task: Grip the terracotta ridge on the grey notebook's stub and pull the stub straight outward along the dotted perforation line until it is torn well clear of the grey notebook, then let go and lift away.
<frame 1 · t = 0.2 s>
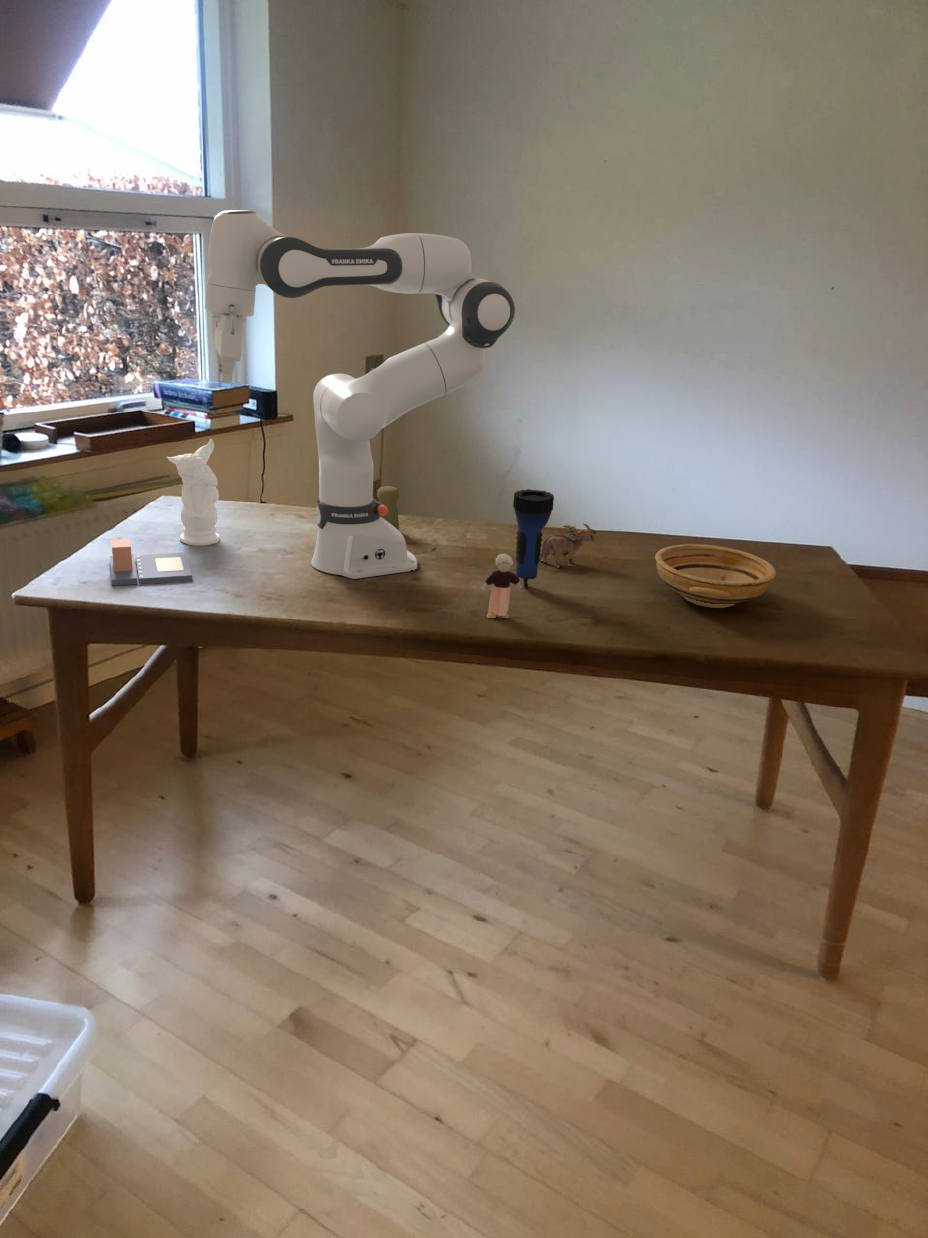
hand: (224, 378, 181), 39 cm above the table, tool pointing down, fingers open, 8 cm apart
grandmother figurine: (499, 617, 182), on the table
stub: (123, 572, 191), on the table, slide at 0.0 cm
cherub figurine: (194, 539, 214), on the table
cork: (386, 533, 226), on the table
grey notebook: (163, 570, 194), on the table
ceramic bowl: (708, 599, 198), on the table
flashlight: (525, 589, 197), on the table
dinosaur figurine: (559, 564, 213), on the table
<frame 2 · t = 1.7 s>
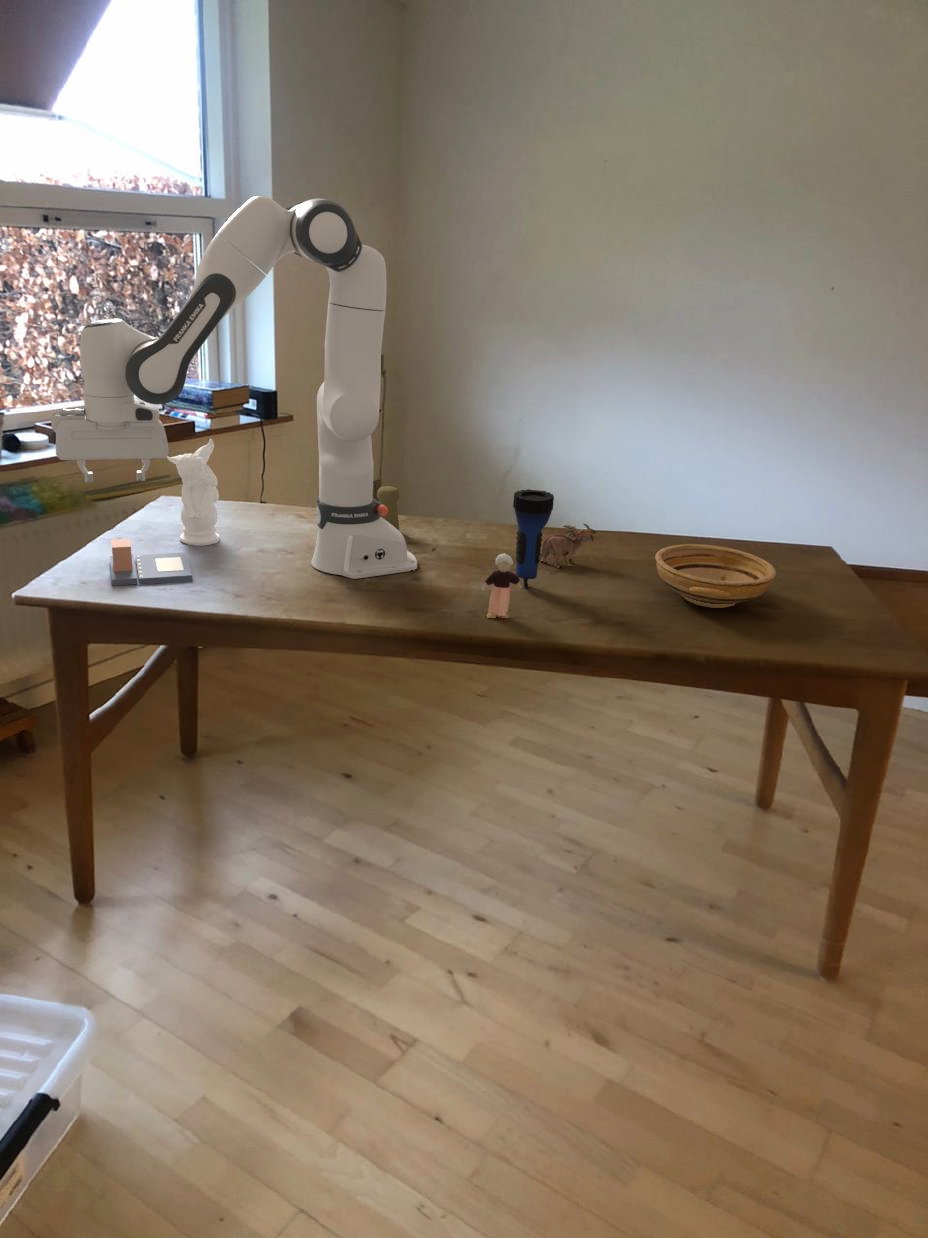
hand: (115, 481, 184), 19 cm above the table, tool pointing down, fingers open, 8 cm apart
nothing on the table moved.
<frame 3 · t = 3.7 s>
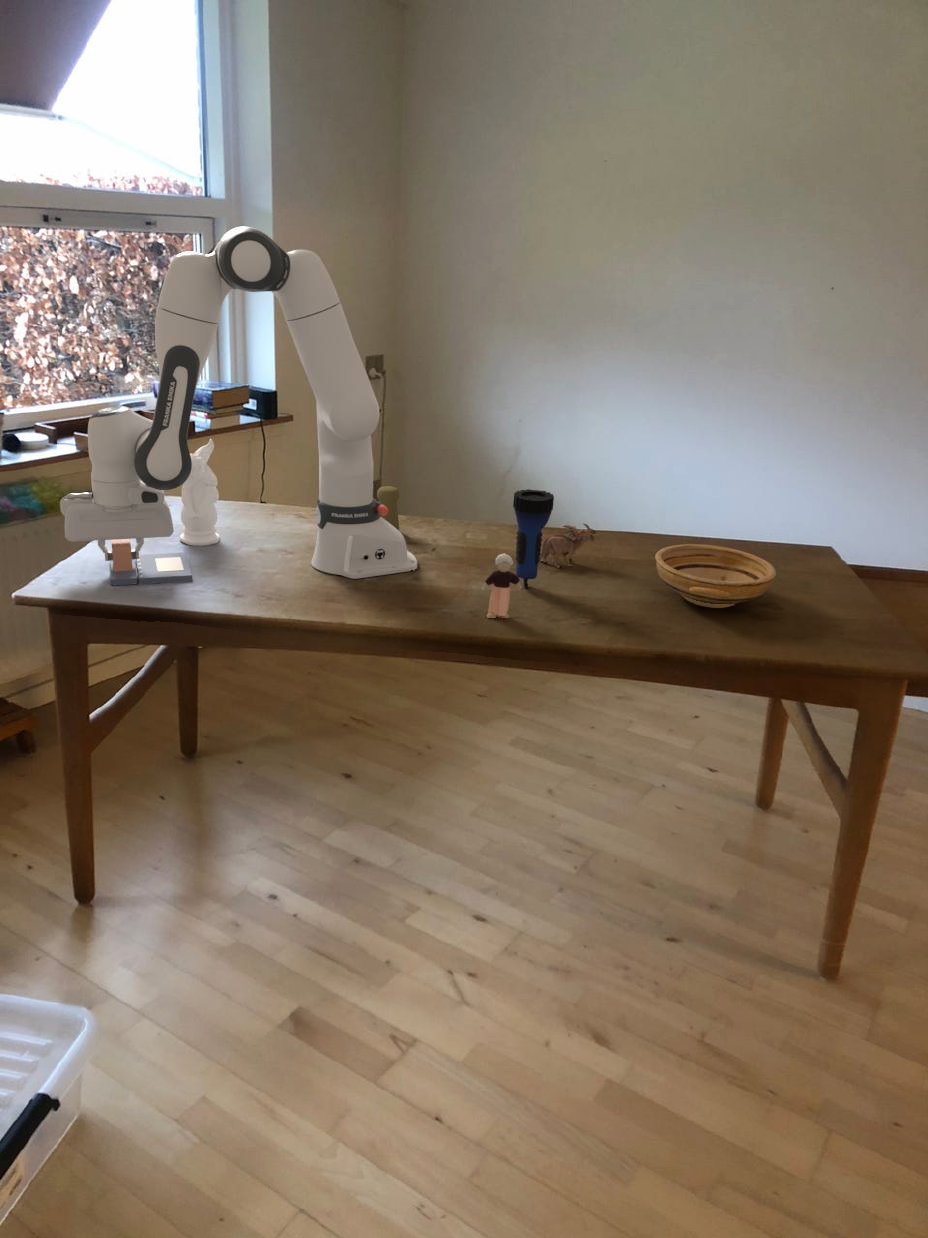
hand: (122, 559, 190), 3 cm above the table, tool pointing down, fingers closed on stub, 3 cm apart
stub: (123, 572, 191), on the table, slide at 0.0 cm, touching gripper
everything else where it was.
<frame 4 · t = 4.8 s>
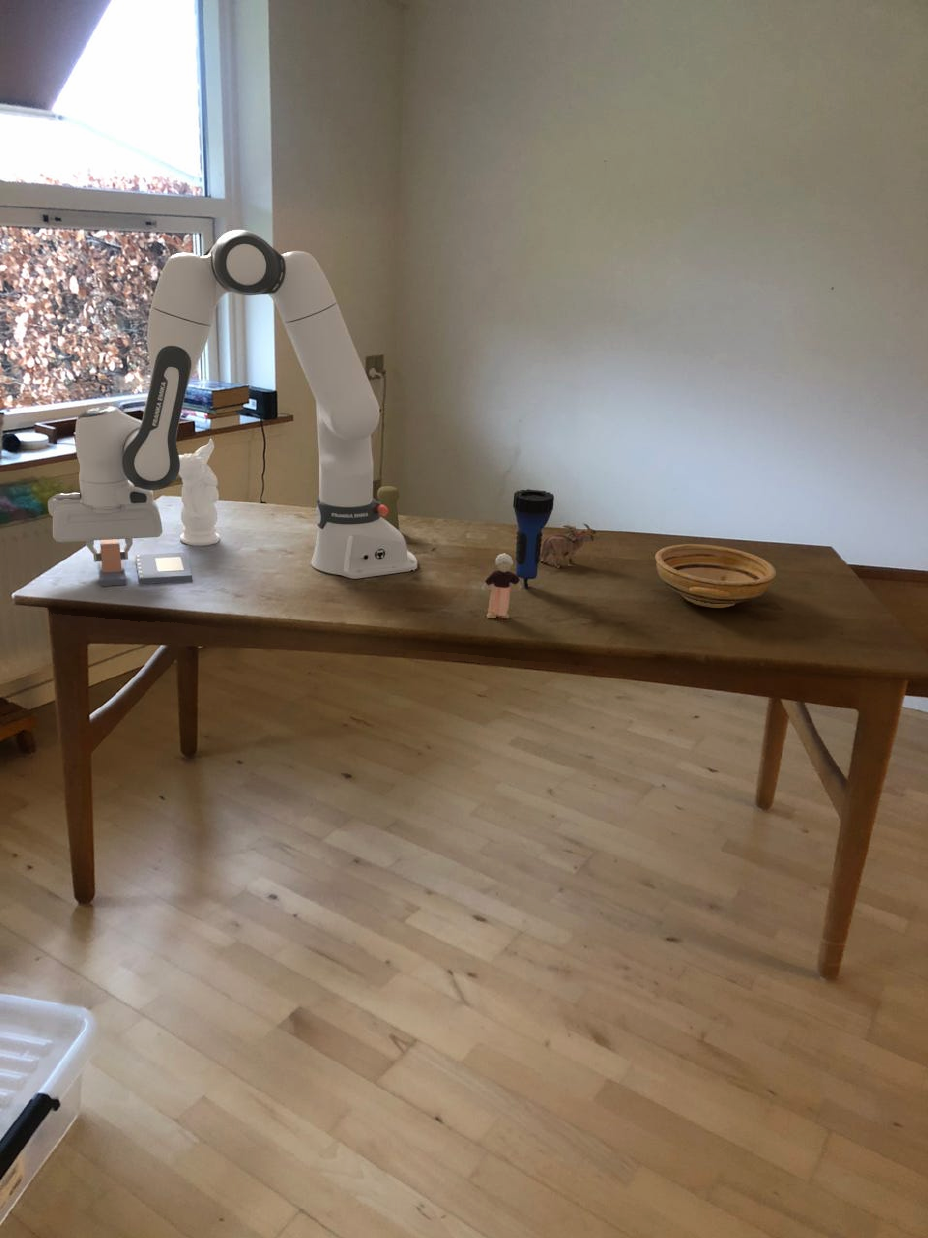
hand: (111, 559, 189), 3 cm above the table, tool pointing down, fingers closed on stub, 3 cm apart
stub: (112, 573, 191), on the table, slide at 2.1 cm, touching gripper
everything else where it was.
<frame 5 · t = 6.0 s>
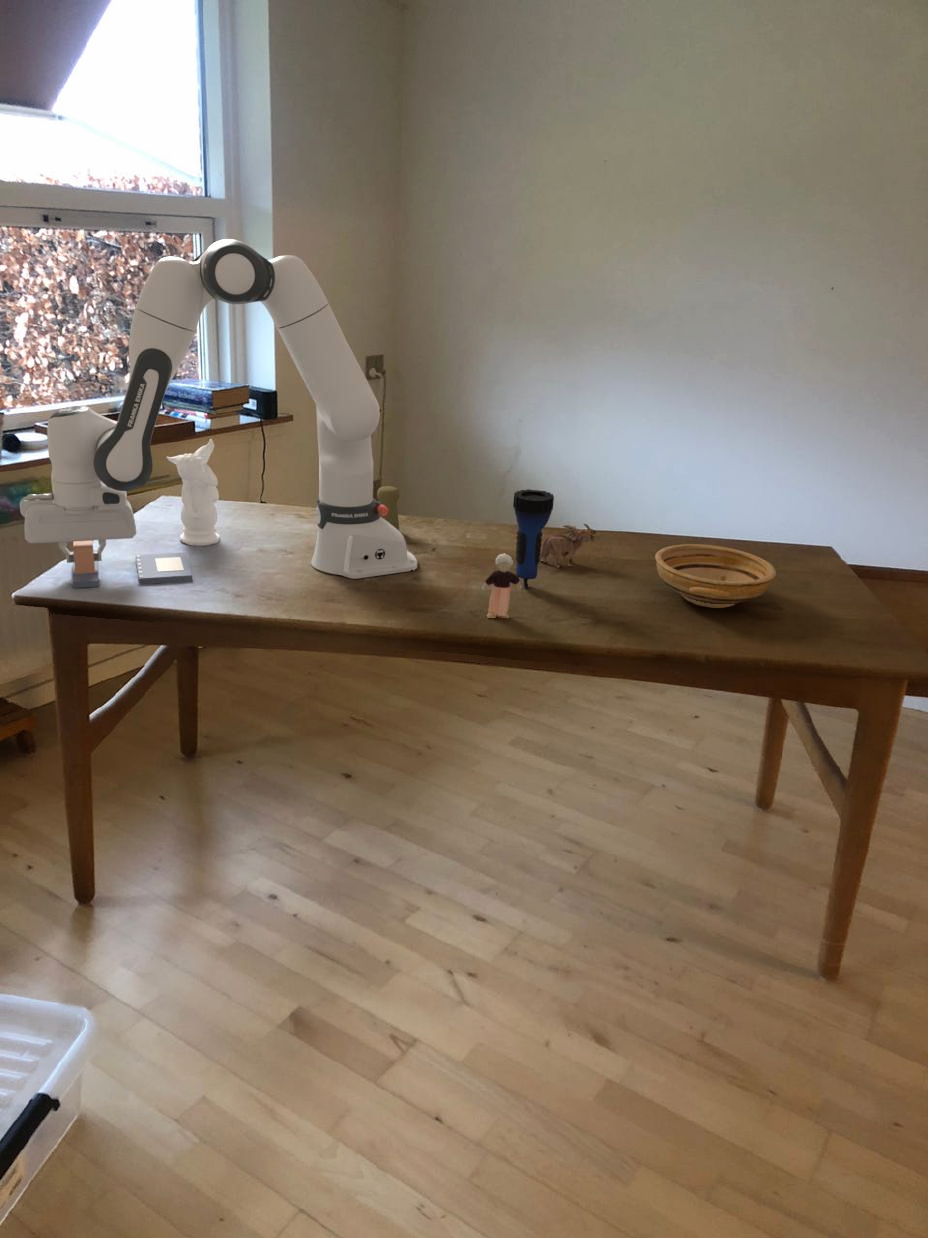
hand: (84, 561, 188), 3 cm above the table, tool pointing down, fingers closed on stub, 3 cm apart
stub: (85, 575, 189), on the table, slide at 7.0 cm, touching gripper
everything else where it was.
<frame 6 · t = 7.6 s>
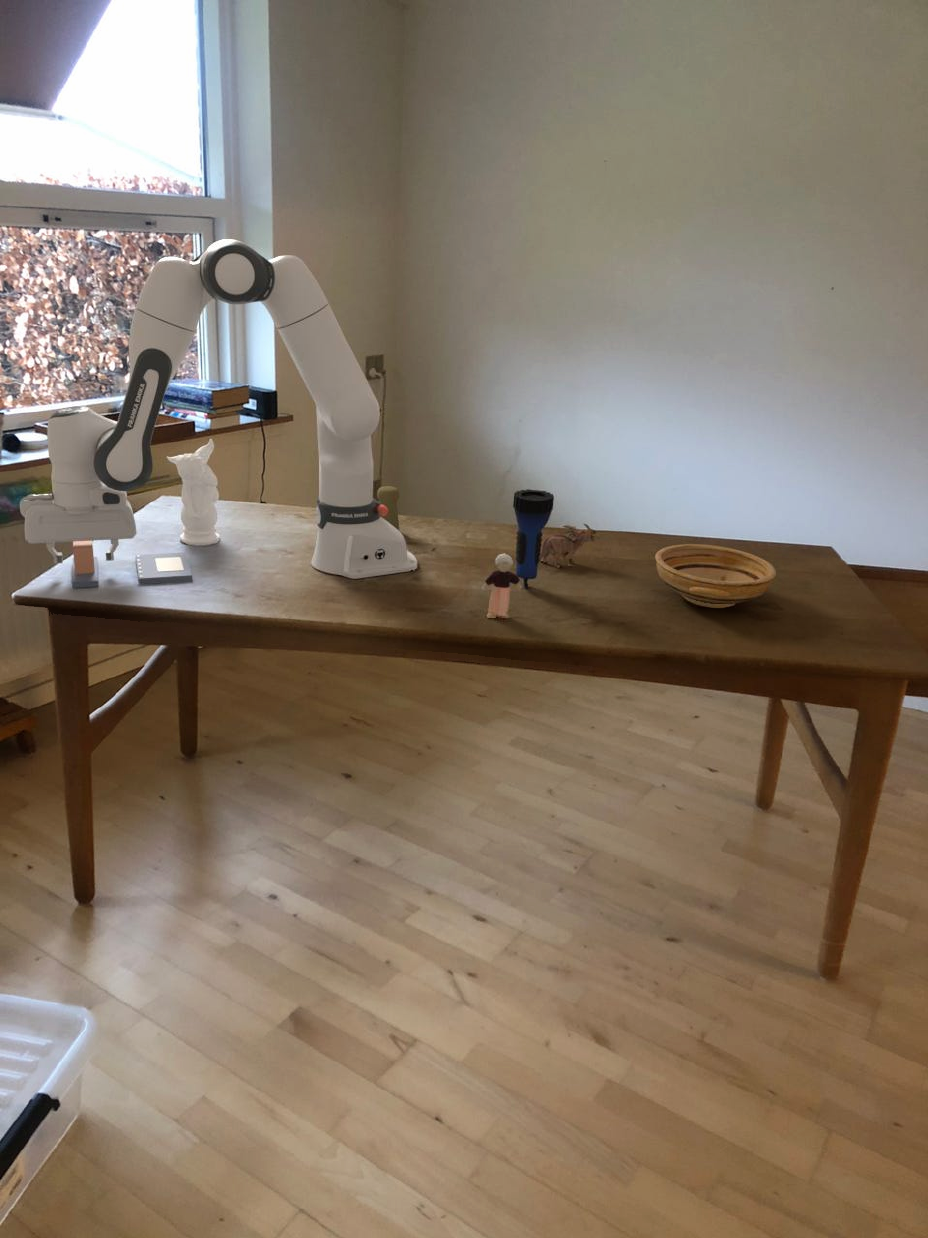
hand: (84, 561, 188), 3 cm above the table, tool pointing down, fingers open, 8 cm apart
stub: (85, 575, 189), on the table, slide at 7.1 cm
everything else where it was.
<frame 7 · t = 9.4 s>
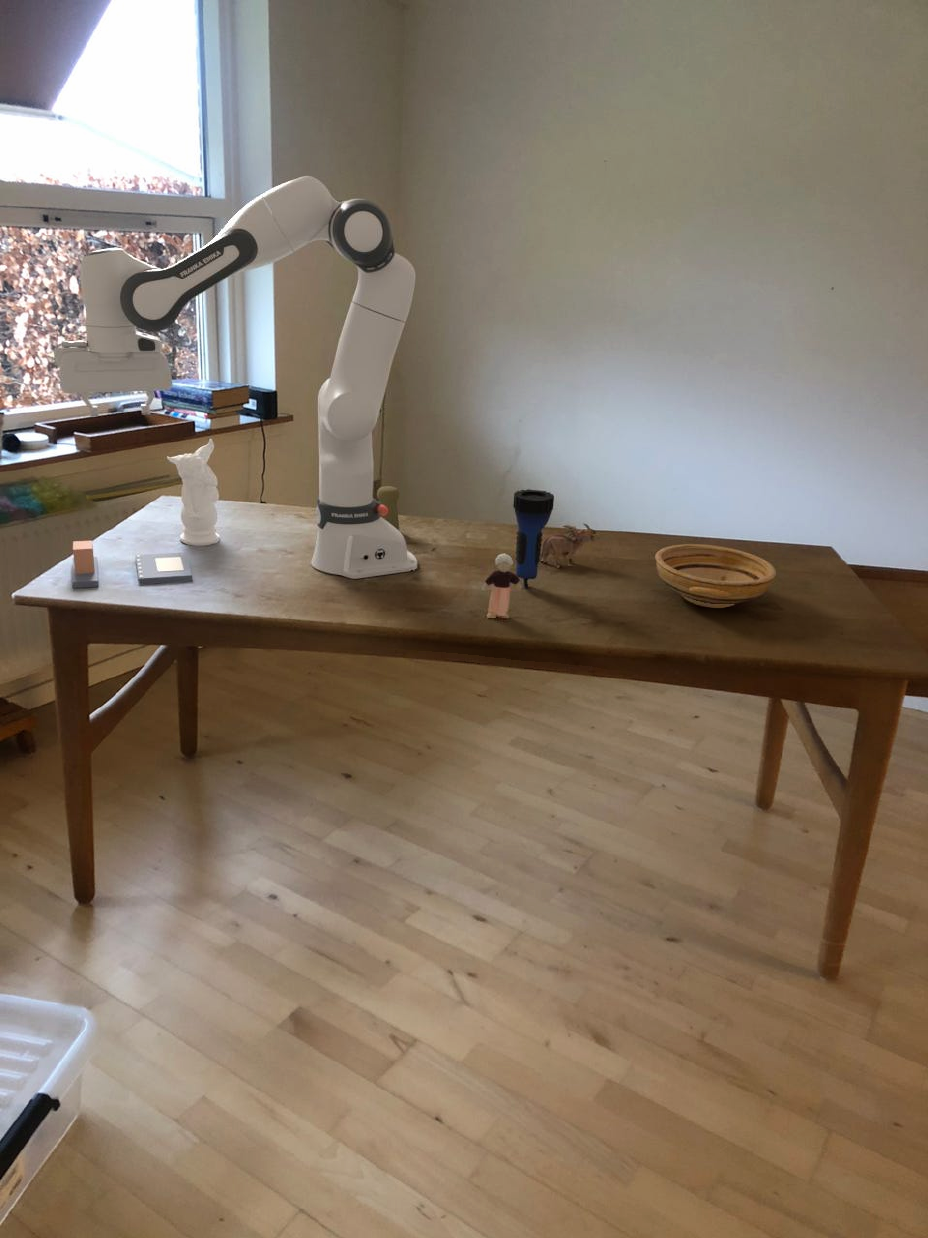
hand: (120, 414, 184), 31 cm above the table, tool pointing down, fingers open, 8 cm apart
nothing on the table moved.
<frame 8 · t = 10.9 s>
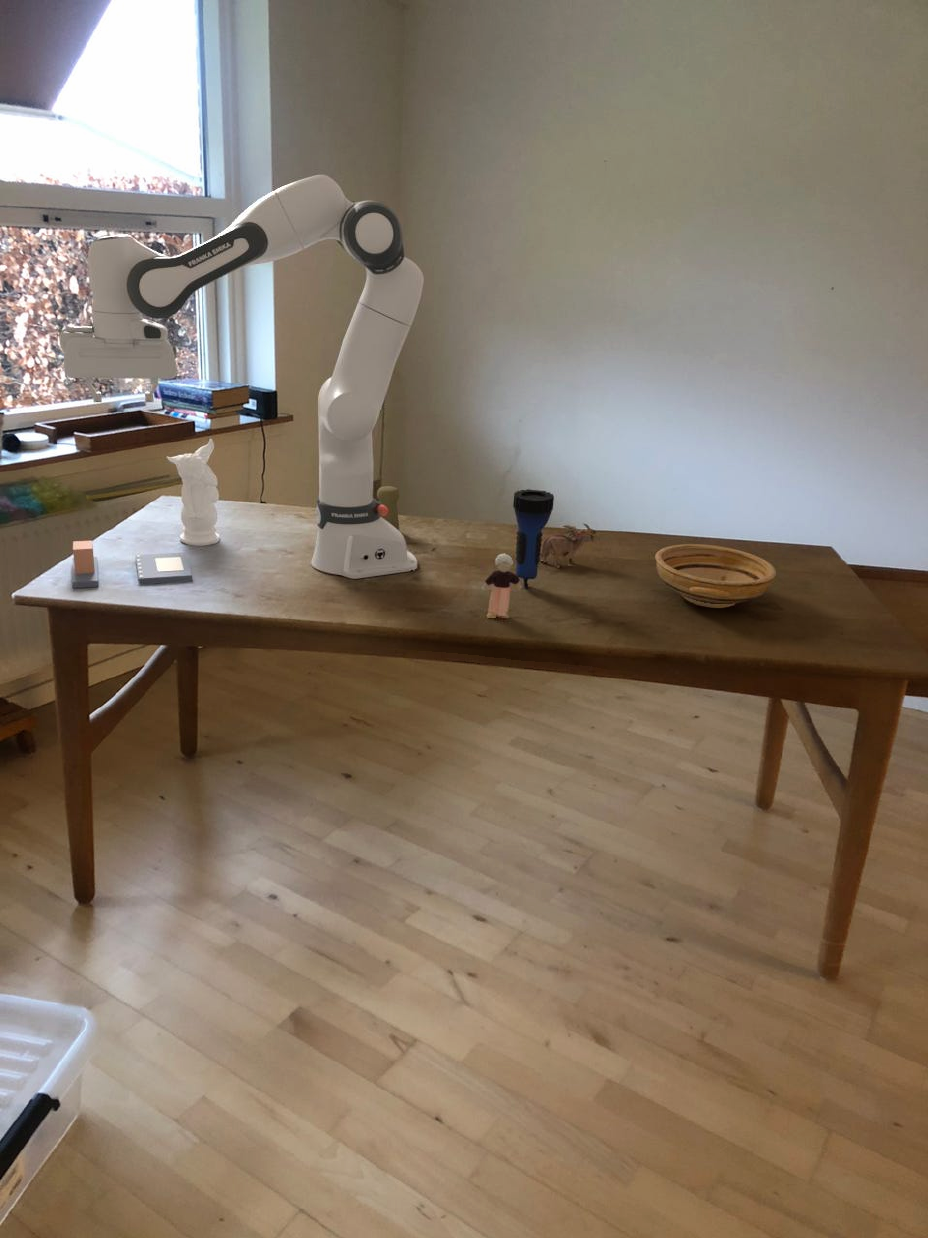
hand: (123, 401, 184), 33 cm above the table, tool pointing down, fingers open, 8 cm apart
nothing on the table moved.
at the end: stub slide at 7.1 cm; the gripper is holding nothing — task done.
